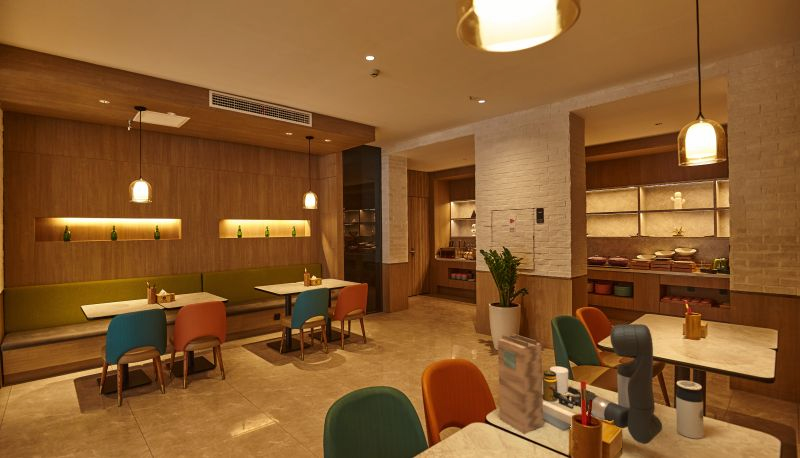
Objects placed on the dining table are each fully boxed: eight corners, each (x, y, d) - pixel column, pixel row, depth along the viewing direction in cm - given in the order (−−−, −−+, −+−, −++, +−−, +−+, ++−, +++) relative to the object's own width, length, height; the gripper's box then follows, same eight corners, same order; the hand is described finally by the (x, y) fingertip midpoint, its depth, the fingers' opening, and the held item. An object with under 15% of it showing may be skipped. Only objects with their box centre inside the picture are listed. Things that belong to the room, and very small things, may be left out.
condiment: (559, 403, 173) (558, 375, 172) (538, 401, 175) (537, 374, 175) (557, 396, 180) (557, 369, 179) (537, 394, 182) (537, 368, 182)
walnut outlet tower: (518, 413, 165) (516, 332, 164) (543, 426, 153) (541, 339, 153) (499, 419, 160) (497, 336, 159) (523, 434, 148) (521, 344, 148)
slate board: (545, 403, 172) (545, 402, 172) (584, 422, 156) (584, 420, 156) (525, 410, 167) (525, 409, 167) (563, 430, 150) (563, 429, 150)
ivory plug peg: (545, 408, 167) (545, 401, 167) (586, 427, 151) (586, 419, 151) (540, 410, 165) (540, 403, 165) (581, 429, 149) (581, 421, 149)
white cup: (571, 394, 181) (571, 372, 181) (554, 394, 181) (553, 372, 181) (564, 387, 189) (564, 366, 189) (548, 387, 189) (547, 366, 189)
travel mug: (671, 431, 148) (670, 382, 147) (685, 426, 151) (684, 378, 151) (694, 441, 140) (693, 390, 140) (708, 436, 143) (707, 386, 143)
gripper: (610, 392, 147) (572, 378, 161) (585, 401, 140) (548, 385, 154) (611, 412, 147) (573, 396, 161) (585, 422, 140) (548, 405, 154)
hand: (561, 391), depth 158 cm, fingers open, 8 cm apart
